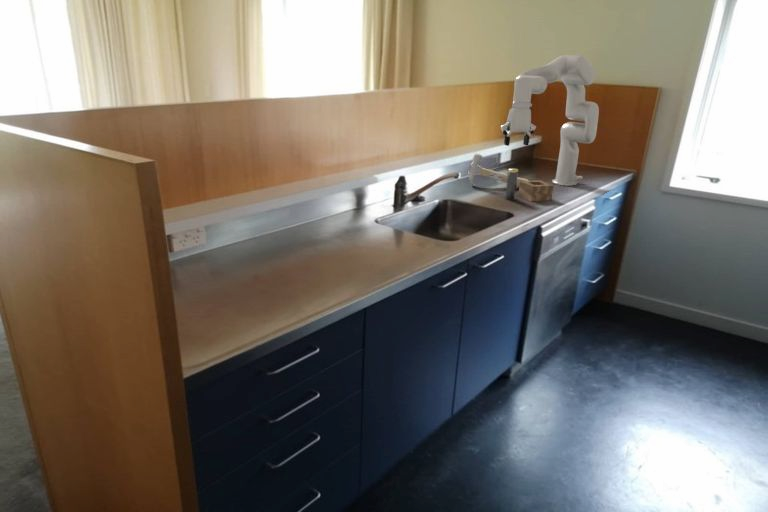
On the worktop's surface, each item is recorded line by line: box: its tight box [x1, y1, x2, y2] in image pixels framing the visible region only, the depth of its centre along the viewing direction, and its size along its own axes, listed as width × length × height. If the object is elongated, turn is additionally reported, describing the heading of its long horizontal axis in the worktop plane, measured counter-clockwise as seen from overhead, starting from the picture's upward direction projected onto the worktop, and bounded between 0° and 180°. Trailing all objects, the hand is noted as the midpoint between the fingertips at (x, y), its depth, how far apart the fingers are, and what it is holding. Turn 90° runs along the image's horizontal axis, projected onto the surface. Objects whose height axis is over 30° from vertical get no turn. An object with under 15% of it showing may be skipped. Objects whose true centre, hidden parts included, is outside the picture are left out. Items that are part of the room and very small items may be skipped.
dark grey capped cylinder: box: [504, 167, 519, 201], centre depth 246 cm, size 4×4×14 cm
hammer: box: [467, 153, 529, 188], centre depth 268 cm, size 16×5×30 cm
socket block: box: [518, 179, 554, 202], centre depth 251 cm, size 11×11×7 cm
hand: (516, 145), depth 240 cm, fingers open, 9 cm apart
